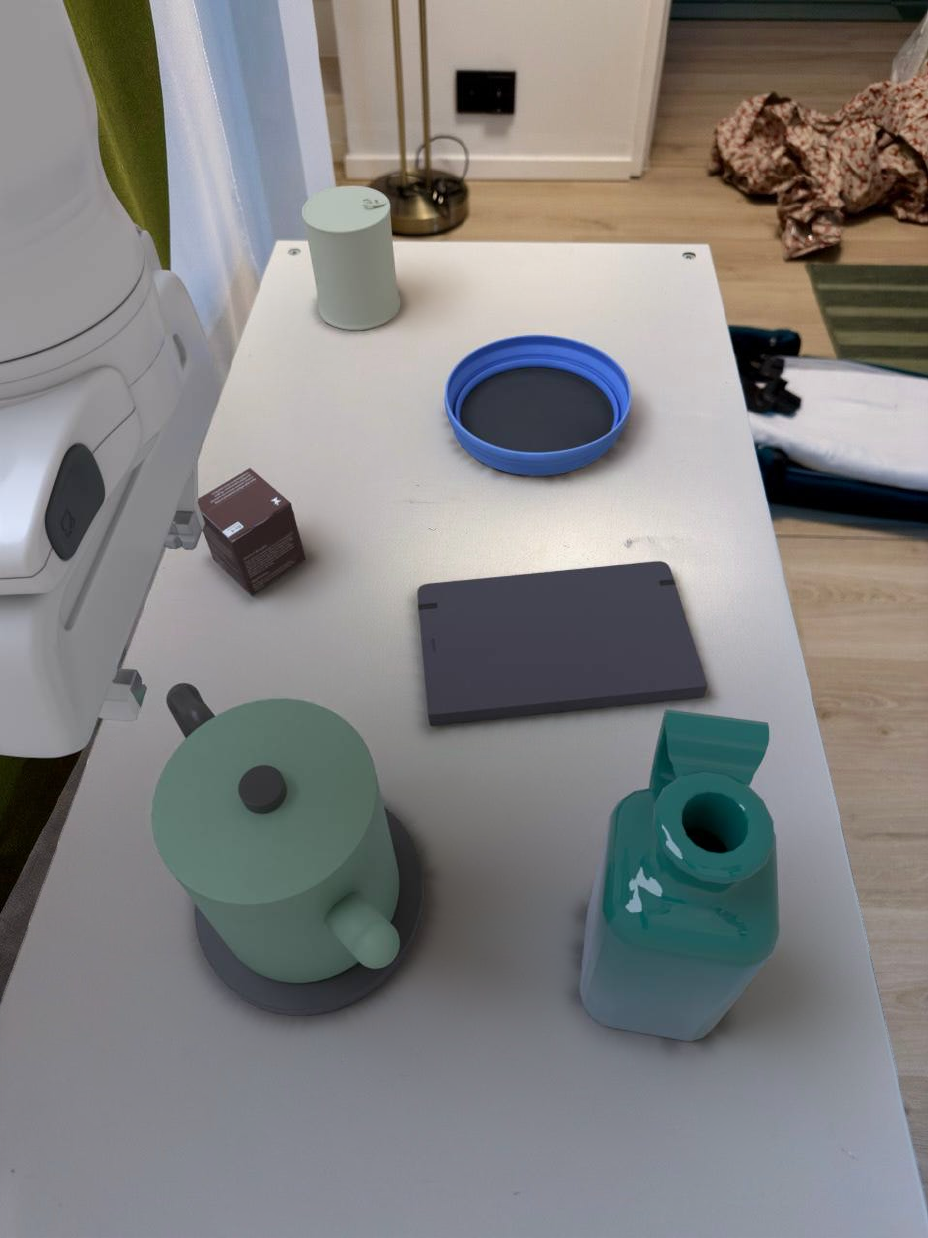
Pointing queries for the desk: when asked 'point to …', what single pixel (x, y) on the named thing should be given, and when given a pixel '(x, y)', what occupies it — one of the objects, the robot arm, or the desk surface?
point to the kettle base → (336, 988)
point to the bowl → (537, 404)
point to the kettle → (279, 835)
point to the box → (251, 531)
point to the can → (352, 256)
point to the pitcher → (684, 885)
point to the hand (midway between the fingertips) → (156, 616)
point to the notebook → (555, 642)
